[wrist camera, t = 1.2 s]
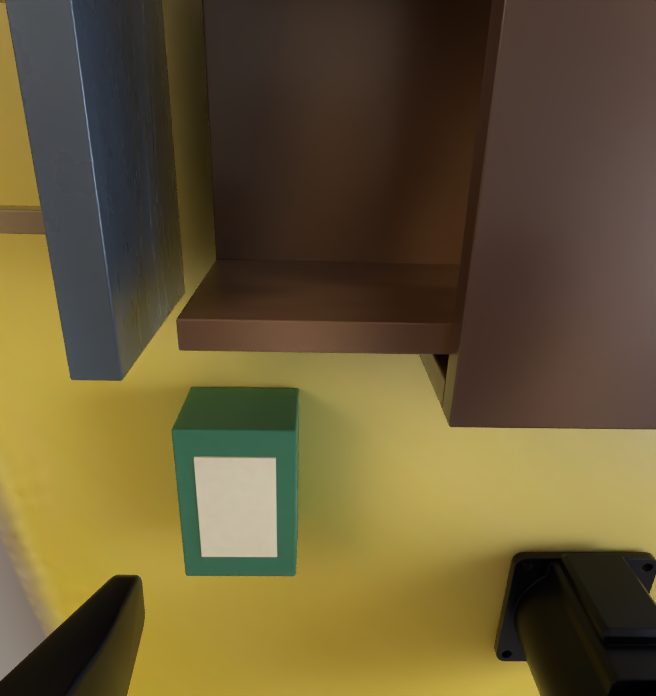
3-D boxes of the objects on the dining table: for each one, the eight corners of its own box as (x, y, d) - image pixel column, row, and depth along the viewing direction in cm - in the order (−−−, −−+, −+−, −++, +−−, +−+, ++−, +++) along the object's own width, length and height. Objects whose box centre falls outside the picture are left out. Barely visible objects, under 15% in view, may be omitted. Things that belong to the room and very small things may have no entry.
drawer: (35, 290, 19) (-103, 378, 13) (-44, -129, 15) (-315, -309, 8) (538, 299, 20) (643, 389, 13) (611, -103, 15) (822, -254, 9)
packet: (298, 520, 24) (295, 578, 21) (201, 519, 24) (184, 578, 21) (299, 387, 22) (296, 431, 19) (190, 386, 22) (170, 430, 19)
